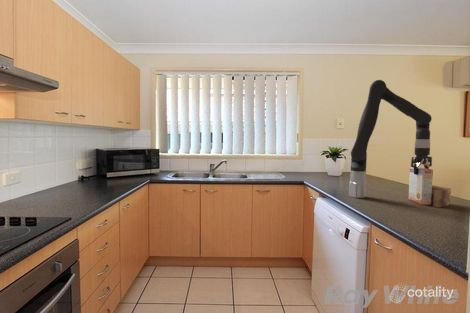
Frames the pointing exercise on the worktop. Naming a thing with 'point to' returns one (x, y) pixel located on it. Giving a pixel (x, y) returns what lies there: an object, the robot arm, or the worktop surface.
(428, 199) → the cracker box
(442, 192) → the book rack
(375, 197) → the worktop surface
